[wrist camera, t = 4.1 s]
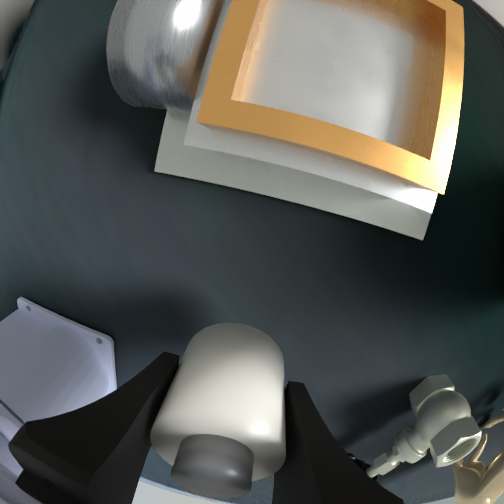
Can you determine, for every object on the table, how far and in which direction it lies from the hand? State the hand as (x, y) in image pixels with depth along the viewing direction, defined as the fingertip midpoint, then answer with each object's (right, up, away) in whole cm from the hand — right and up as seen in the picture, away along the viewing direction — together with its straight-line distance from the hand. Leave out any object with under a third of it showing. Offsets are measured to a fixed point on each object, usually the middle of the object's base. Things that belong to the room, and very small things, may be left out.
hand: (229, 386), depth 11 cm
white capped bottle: (0, 0, +1) cm, 2 cm away
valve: (+12, -8, +8) cm, 17 cm away
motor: (+4, +13, +1) cm, 14 cm away
